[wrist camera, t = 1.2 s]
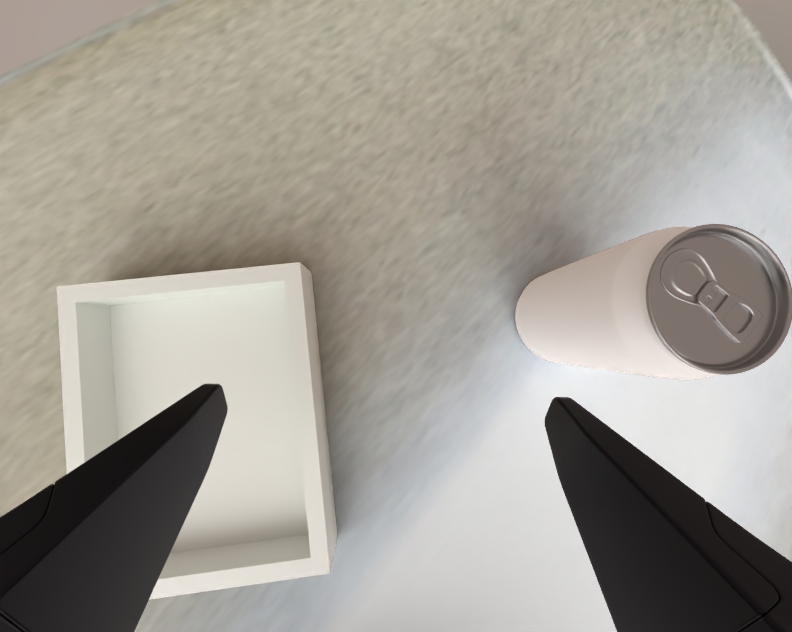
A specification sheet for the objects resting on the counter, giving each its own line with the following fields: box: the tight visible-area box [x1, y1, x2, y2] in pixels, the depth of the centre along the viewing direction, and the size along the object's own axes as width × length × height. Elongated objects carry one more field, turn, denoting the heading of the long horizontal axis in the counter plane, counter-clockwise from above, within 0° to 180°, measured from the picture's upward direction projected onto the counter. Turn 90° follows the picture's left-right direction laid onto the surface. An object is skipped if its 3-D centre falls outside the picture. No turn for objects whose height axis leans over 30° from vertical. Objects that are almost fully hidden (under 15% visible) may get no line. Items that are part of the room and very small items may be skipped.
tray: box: [57, 262, 338, 600], centre depth 22 cm, size 18×14×4 cm
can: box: [515, 224, 792, 380], centre depth 19 cm, size 6×6×12 cm
